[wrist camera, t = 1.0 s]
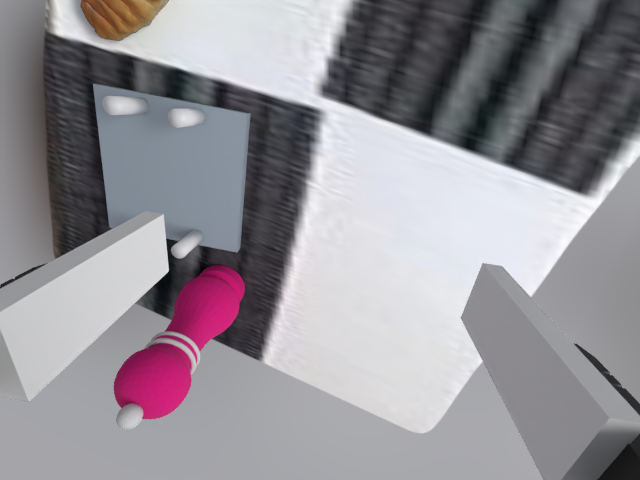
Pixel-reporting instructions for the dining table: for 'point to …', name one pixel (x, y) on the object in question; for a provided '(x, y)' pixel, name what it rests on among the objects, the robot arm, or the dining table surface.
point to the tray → (174, 165)
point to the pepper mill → (177, 347)
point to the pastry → (120, 16)
